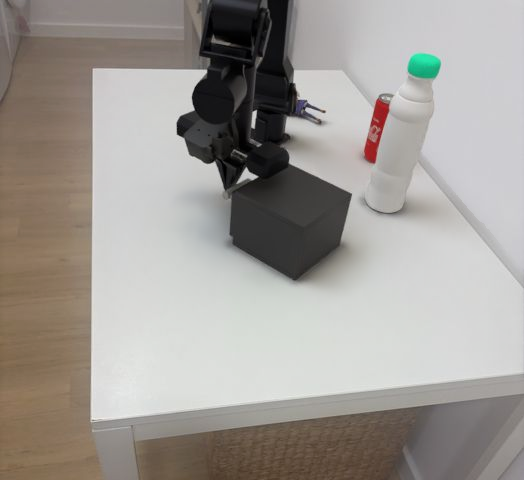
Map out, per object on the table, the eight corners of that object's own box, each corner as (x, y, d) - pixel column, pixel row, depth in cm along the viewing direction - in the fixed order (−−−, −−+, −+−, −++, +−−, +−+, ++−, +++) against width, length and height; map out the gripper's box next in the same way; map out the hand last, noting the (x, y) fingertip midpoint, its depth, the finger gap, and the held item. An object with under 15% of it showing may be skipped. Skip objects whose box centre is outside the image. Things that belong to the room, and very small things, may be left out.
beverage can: (387, 166, 107) (404, 106, 98) (361, 161, 107) (376, 101, 98) (388, 154, 110) (404, 95, 101) (363, 149, 110) (377, 90, 102)
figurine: (330, 104, 116) (274, 79, 120) (323, 100, 112) (266, 75, 117) (318, 131, 118) (264, 105, 123) (312, 127, 115) (256, 101, 119)
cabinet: (232, 244, 84) (235, 190, 77) (279, 213, 92) (286, 162, 84) (294, 280, 80) (304, 227, 73) (339, 245, 87) (352, 193, 80)
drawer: (210, 223, 86) (210, 180, 80) (254, 197, 93) (257, 156, 87) (285, 267, 80) (292, 224, 75) (327, 236, 87) (336, 194, 81)
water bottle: (404, 199, 99) (452, 54, 80) (399, 218, 94) (448, 69, 76) (368, 189, 100) (406, 44, 81) (360, 208, 95) (399, 59, 77)
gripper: (147, 87, 75) (153, 186, 86) (247, 136, 68) (239, 236, 80) (201, 69, 81) (200, 163, 93) (298, 112, 74) (284, 207, 86)
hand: (228, 191), depth 87 cm, fingers closed
